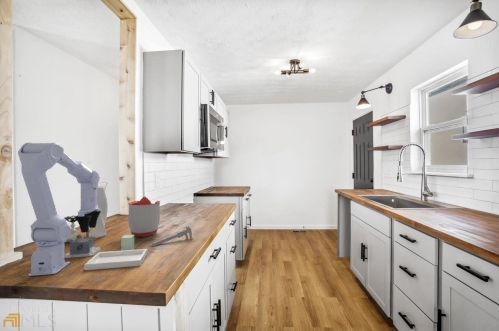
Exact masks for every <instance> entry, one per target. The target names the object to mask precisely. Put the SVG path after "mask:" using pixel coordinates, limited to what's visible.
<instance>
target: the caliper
mask: <svg viewBox="0 0 499 331" xmlns="http://www.w3.org/2000/svg"><path fill="white" fill-rule="evenodd" d="M192 235H193V232H192V228H191V227H190V226H189V225H188V226H185V229H182V230H180V231H177V232H176V233H175V234H172V235H170V236H167V237H164V238H162V239H159V240H157V241H154V242H151V244H149V245H148V247H149V248H150V247H155V246H158V245H161V244H163V243H166V242H169V241H171V240H173V239H176V238H178V239H181V238H182V237H184V236H185V238H186V239H187V240H188V239H189V238H190V239H192V237H193V236H192Z"/></svg>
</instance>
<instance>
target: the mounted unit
mask: <svg viewBox="0 0 499 331" xmlns="http://www.w3.org/2000/svg"><path fill="white" fill-rule="evenodd" d="M95 239H96V238H82V239H76V240H74V241H72V242H69V252H67V253H65V254H64V259H69V258H82V257H94V256H95V255H96V254H97V253H98V252H100V251H101V247H102V246H96V245H95V244H96V242H95V241H96V240H95Z"/></svg>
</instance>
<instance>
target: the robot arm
mask: <svg viewBox="0 0 499 331" xmlns="http://www.w3.org/2000/svg"><path fill="white" fill-rule="evenodd" d="M17 155H18V158H19V161H20V165H21V174H22V178H23V181H24V184H25V187H26V190H27V194H28V196H29V199H30V203H31V206H32V208H33V212H34V215H35V219H36V220H35V221H33V223H31V225H30V226H29V227H30V230H31V231H30V237H31V240H32V241H33V242H34V243H35V246H37V249H36V250H35V251H34V252H33V253H32V254H31V258H30V272H29V273H28V274H27V276H28V277H33V276H45V275H47V276H48V275H55V274H57V273H58V272H59V271H61V270H63V269H64V268H65V267H67V266H68V265H69V264H70V263H71V262H70V261H65V258H64V255H65V243H66V242H68V241H67V239H68V238H69V236H70V233H71V228H70V225H69V224H68V223H67V222H68V221H67V220H66V219H64V217H62V216H60V215H59V214H58V211H57V209H56V205H55V202H54V197H53V195H52V191H51V187H50V184H49V180H48V177H47V174H46V173H47V171H49V170H51V169H52V168H53V167H54V166H55V165H56V164H59V165H60V166H62V167H64V168H65V169H66V170H67V173H69V175H71V176H72V177H73V178H76V180H77V183H78V184H80V209H79V211H77V215H74V216H75V219H76V220H77V221H76V222H77V223H78V226H79V229H80V232H81V233H86V232H88V228H89V227H90V229H93V228H95V227H96V223H97V219H98V217H99V214H100V213H101V211H97V210H99V209H100V208H98V206H97V187H98V185H99V184H98V183H100V179H101V177H100V173H99V172H98V171H96V170H91V169H90V167H88V166H86V165H85V164H84V163H83V161H77V160H76V161H74V159H73V158H71V157H70V156H69V154H67V153H66V152H65V150H64V147H63V146H62V145H60V144H59V143H58V142H25V143H23V144H22V145H21V147H20V148H19V149H18V151H17Z"/></svg>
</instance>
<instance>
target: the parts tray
mask: <svg viewBox="0 0 499 331" xmlns="http://www.w3.org/2000/svg"><path fill="white" fill-rule="evenodd" d="M147 255H148V248H142V249H141V248H140V249H133V250H123V251H121V250H113V251H112V250H109V251H98V252H97V253H95V254H94V255H93V256H92V257H91V258H90V259H89V260H88V261H87V262H85V263H84V271H93V270H104V269H116V268H118V269H119V268H128V267H139V266H142V264H143V262H144V260H145V258H146V257H147Z"/></svg>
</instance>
